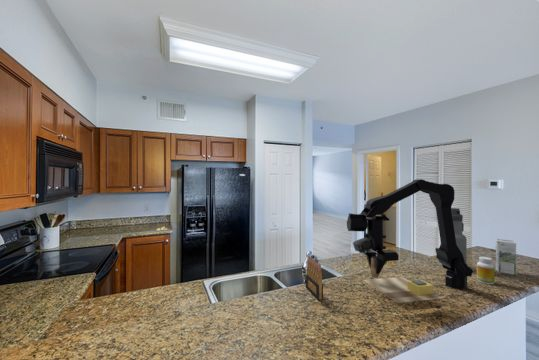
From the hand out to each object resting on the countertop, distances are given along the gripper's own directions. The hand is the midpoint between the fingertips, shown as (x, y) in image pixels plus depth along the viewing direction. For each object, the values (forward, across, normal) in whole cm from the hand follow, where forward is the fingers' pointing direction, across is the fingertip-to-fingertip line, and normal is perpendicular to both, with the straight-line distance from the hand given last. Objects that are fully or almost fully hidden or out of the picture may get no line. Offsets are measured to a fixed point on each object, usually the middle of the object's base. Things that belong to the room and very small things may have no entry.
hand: (375, 272), depth 94 cm
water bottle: (+5, -13, +52) cm, 54 cm away
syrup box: (+5, -2, +68) cm, 68 cm away
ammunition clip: (+5, +2, -26) cm, 27 cm away
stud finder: (+4, +10, +11) cm, 15 cm away
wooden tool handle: (+2, 0, 0) cm, 2 cm away
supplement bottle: (+5, +5, +47) cm, 48 cm away
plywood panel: (+5, +6, +6) cm, 10 cm away
